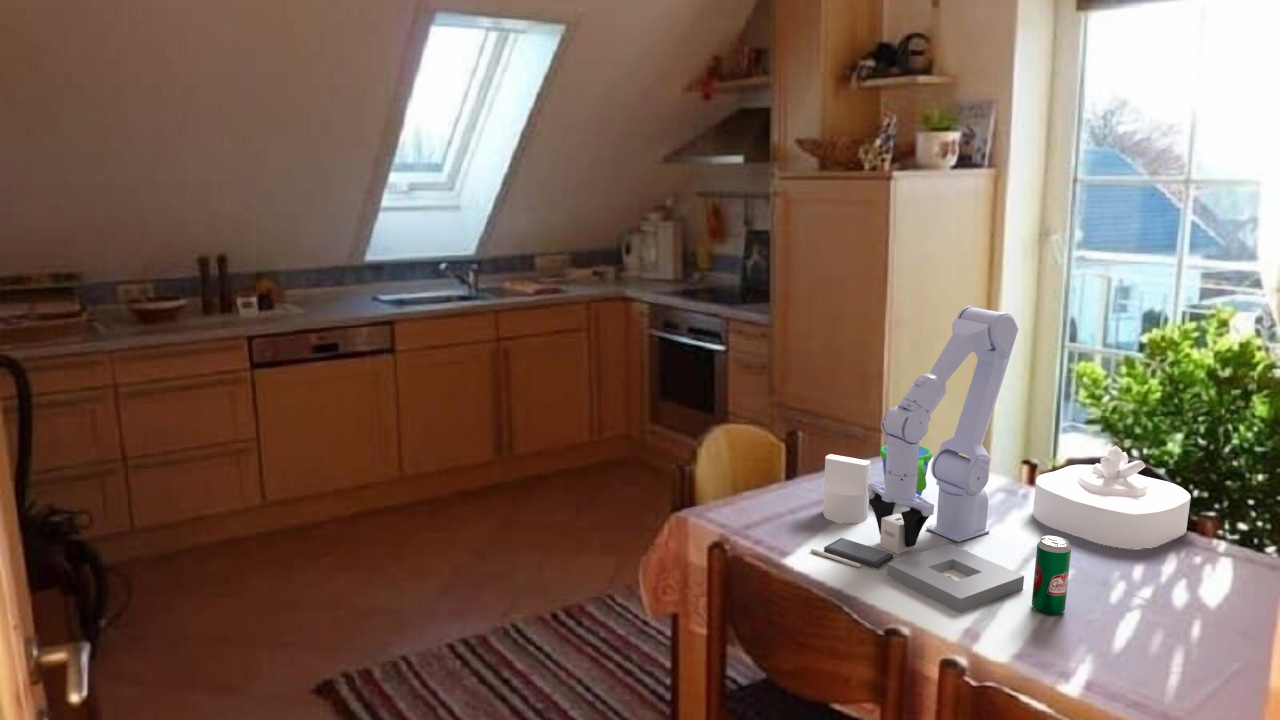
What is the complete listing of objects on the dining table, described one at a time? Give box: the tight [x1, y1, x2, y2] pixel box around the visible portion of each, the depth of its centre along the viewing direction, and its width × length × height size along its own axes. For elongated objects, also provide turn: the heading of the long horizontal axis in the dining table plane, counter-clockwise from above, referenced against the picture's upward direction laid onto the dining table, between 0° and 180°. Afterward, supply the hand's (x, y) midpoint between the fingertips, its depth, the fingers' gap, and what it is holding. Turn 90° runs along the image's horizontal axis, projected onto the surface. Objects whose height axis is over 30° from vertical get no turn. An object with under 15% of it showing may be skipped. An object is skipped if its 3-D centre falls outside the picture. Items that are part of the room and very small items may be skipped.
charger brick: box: [879, 513, 915, 554], centre depth 182 cm, size 4×4×6 cm
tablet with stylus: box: [810, 537, 894, 570], centre depth 179 cm, size 8×13×1 cm, turn 47°
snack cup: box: [879, 444, 933, 497], centre depth 209 cm, size 16×10×10 cm
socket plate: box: [886, 543, 1025, 613], centre depth 168 cm, size 16×16×2 cm
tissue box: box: [1032, 445, 1192, 548], centre depth 193 cm, size 25×25×16 cm
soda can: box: [1031, 535, 1072, 616], centre depth 157 cm, size 5×5×12 cm
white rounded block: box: [822, 453, 872, 524], centre depth 197 cm, size 9×9×12 cm
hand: (897, 539), depth 182 cm, fingers open, 6 cm apart
